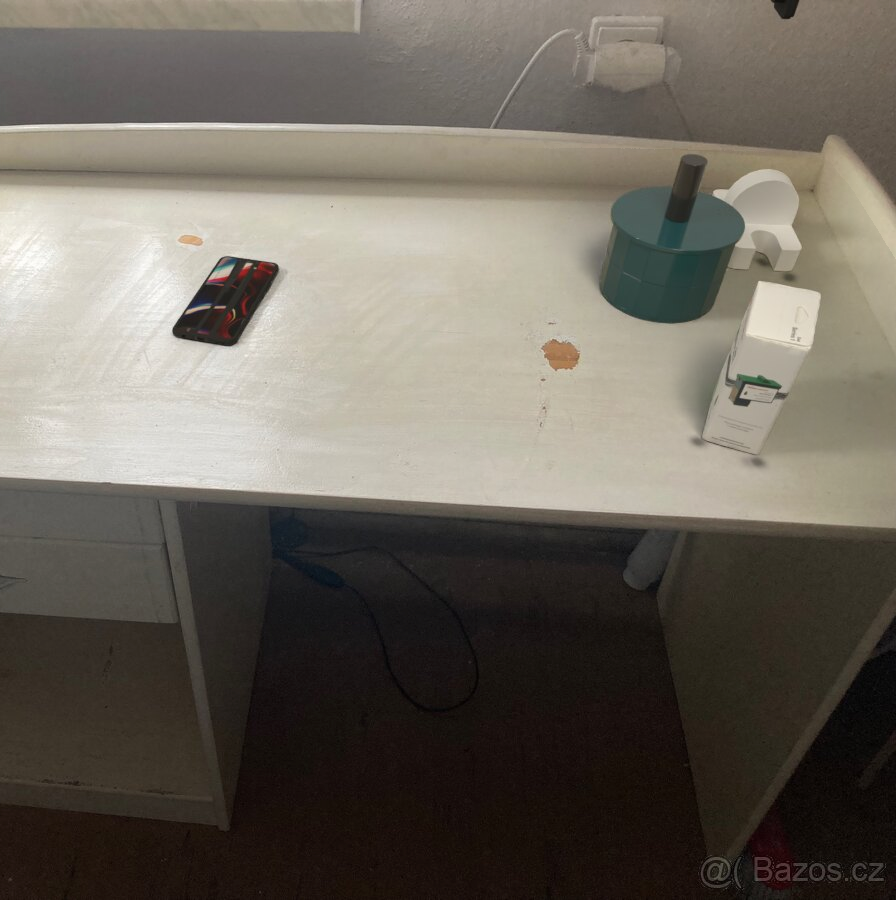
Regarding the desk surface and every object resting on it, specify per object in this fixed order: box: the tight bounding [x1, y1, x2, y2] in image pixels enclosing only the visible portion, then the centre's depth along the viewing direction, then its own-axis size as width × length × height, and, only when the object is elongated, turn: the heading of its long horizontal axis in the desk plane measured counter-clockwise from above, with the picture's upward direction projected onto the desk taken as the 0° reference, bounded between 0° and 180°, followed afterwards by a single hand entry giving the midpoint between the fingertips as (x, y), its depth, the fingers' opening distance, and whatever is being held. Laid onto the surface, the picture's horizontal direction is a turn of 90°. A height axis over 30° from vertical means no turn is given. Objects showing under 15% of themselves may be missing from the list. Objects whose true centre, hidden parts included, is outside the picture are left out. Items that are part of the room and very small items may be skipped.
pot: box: [599, 224, 736, 324], centre depth 89 cm, size 12×12×8 cm
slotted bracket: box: [711, 168, 803, 272], centre depth 95 cm, size 13×7×8 cm, turn 171°
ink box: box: [701, 280, 822, 455], centre depth 73 cm, size 9×5×12 cm, turn 153°
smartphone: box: [171, 255, 280, 346], centre depth 93 cm, size 7×1×15 cm
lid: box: [610, 153, 745, 255], centre depth 84 cm, size 13×13×6 cm
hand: (851, 14), depth 64 cm, fingers open, 9 cm apart
